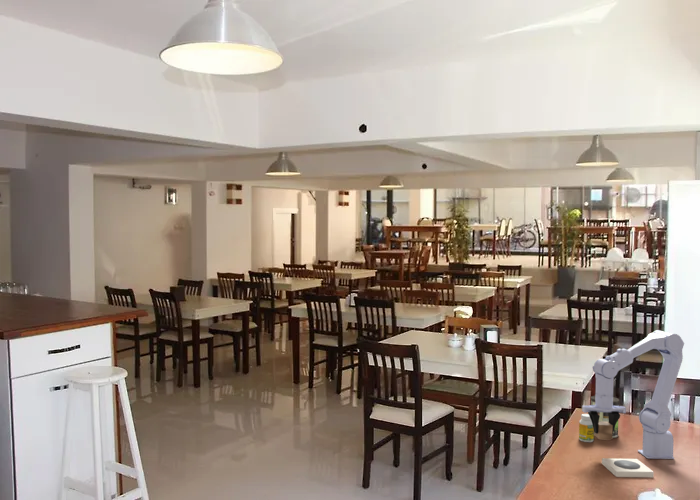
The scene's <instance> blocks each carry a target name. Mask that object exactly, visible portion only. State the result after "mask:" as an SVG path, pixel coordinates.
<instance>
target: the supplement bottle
mask: <svg viewBox="0 0 700 500" xmlns="http://www.w3.org/2000/svg"><path fill="white" fill-rule="evenodd" d="M580 418H581V419H579V422H578V439H579V441H581V442H584V443H593V442H594V440H595V439H594V438H595V436H594V429H593V424H592V421H591V418H590V416H589V414H588V413H582V414H581V415H580Z"/></svg>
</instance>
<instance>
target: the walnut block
mask: <svg viewBox="0 0 700 500" xmlns="http://www.w3.org/2000/svg"><path fill="white" fill-rule="evenodd" d="M612 429H613V425H611V424H610V423H609V422H605V421H599V423H598V434H596V433H595V432H594V437H595V438H597V439H598V440H605V441H606V440H608V441H609V440H613V438H612Z"/></svg>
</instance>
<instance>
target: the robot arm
mask: <svg viewBox="0 0 700 500" xmlns="http://www.w3.org/2000/svg"><path fill="white" fill-rule="evenodd" d="M684 345H685V342H684V340H683V339H682V337H681V336H680V335H679V334H677V333H672V332H668V331H667V332H666V331H663V330H661V329H656V330H654V331H653V332H651V333H648V335H647V336H646V337H644V339H641V340H640V341H638V342H637V343H635V344H633V346H631V347H630V348H628V349H626V348H617V349H616V351H615V352H614V353H612V354H610V355H606V356H605V358H598V359H597V360H596V361H595V362H594V364H593V365H592V371H593V372H594V375H595V395H596V397H595V405H591V404H589V405H581V411H582V412H583V414H589V416H590V418H591V421H592V424H593V429H594V432H595V433H596V434H598V423H599V417H600V416H599V415H598V413H597V412H608V418H609V423H610V424H611V425H613V429H612V434H613V431H614V427H615V425H616V423H617V421H618V422H619V419H620V418H621V413H622V414H626V413H627V408H626V407H625V406H624V405H619V406H613V397H614V381H615V380H614V379H615V377H616V376H617V375H618V373H619V371H621V370H622V369H624V368H626V367H628V366H629V365H631V364H633V362H634V358H637V357H639V356H641V355H643V354H645V353H647V352H649V351H651V350H657V351H658V352H659V353H660V354H661V356H662V358H663V362H662V366H661V369H660V371H659V375H658V378H657V381H656V385H655V387H654V391H653V393H652V397H651V400H650V401H648V402H647V403H645V404H644V407H643V409H642V410H641V411H640V412H639V414H638V420H639V423H640V424H641V426H642V449H637V452H638V453H640V454H641V455H642V456H643V457H645V458H646V459H650V460H651V459H655V460H656V459H660V460H661V459H662V460H675V457H674V444H675V443H674V436H673V433H672V432H671V431H670V430H669V429H670V428H671V424H672V423H671V417H672V412H671V410H670V409H669V407H668V406H669V403H670V400H671V396H672V394H673V391H674V387H675V384H676V381H677V378H678V375H679V372H680V369H681V367H682V363H683V359H684V358H683V357H684V356H683V349H684Z"/></svg>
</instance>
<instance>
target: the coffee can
mask: <svg viewBox="0 0 700 500" xmlns="http://www.w3.org/2000/svg"><path fill="white" fill-rule="evenodd" d="M595 397H596V394H594V395H592V396H590V400H591V401H590V405H595ZM613 406H620V399H619V398H617V397H614V396H613ZM597 413H598V415H599V416H600V417H599V421H605V422H609V418H608V412H597ZM618 437H619V420H618V421H617V423H616V425H615V427H614V431H613V434H612V439H614V438H618Z"/></svg>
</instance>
